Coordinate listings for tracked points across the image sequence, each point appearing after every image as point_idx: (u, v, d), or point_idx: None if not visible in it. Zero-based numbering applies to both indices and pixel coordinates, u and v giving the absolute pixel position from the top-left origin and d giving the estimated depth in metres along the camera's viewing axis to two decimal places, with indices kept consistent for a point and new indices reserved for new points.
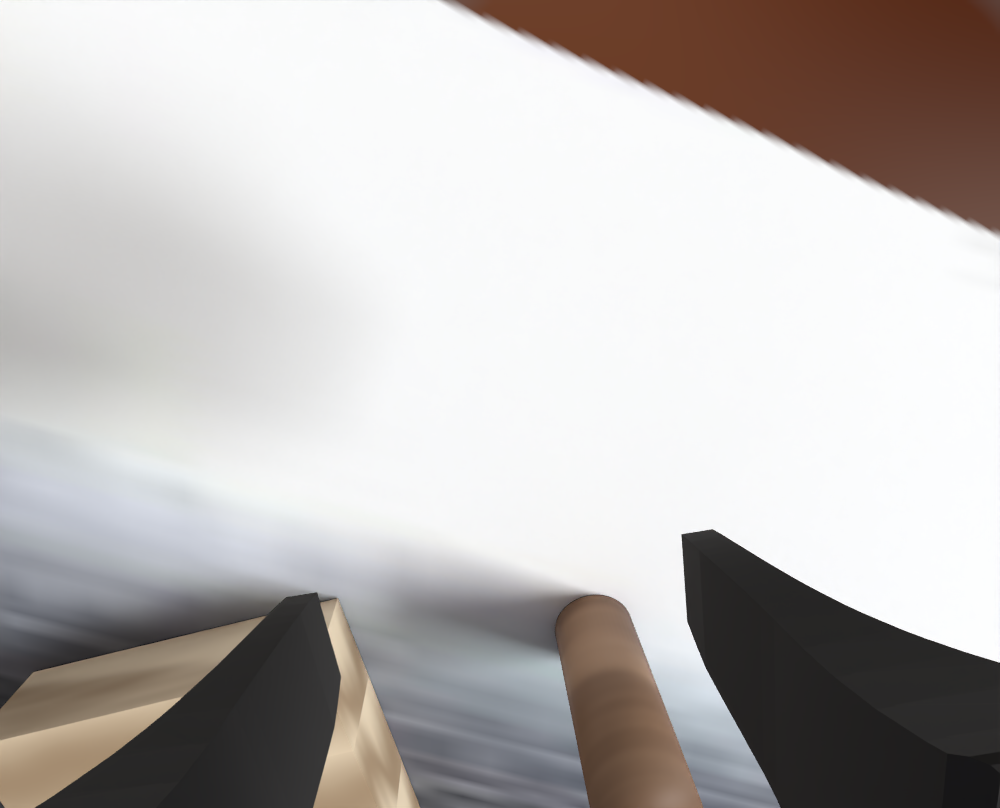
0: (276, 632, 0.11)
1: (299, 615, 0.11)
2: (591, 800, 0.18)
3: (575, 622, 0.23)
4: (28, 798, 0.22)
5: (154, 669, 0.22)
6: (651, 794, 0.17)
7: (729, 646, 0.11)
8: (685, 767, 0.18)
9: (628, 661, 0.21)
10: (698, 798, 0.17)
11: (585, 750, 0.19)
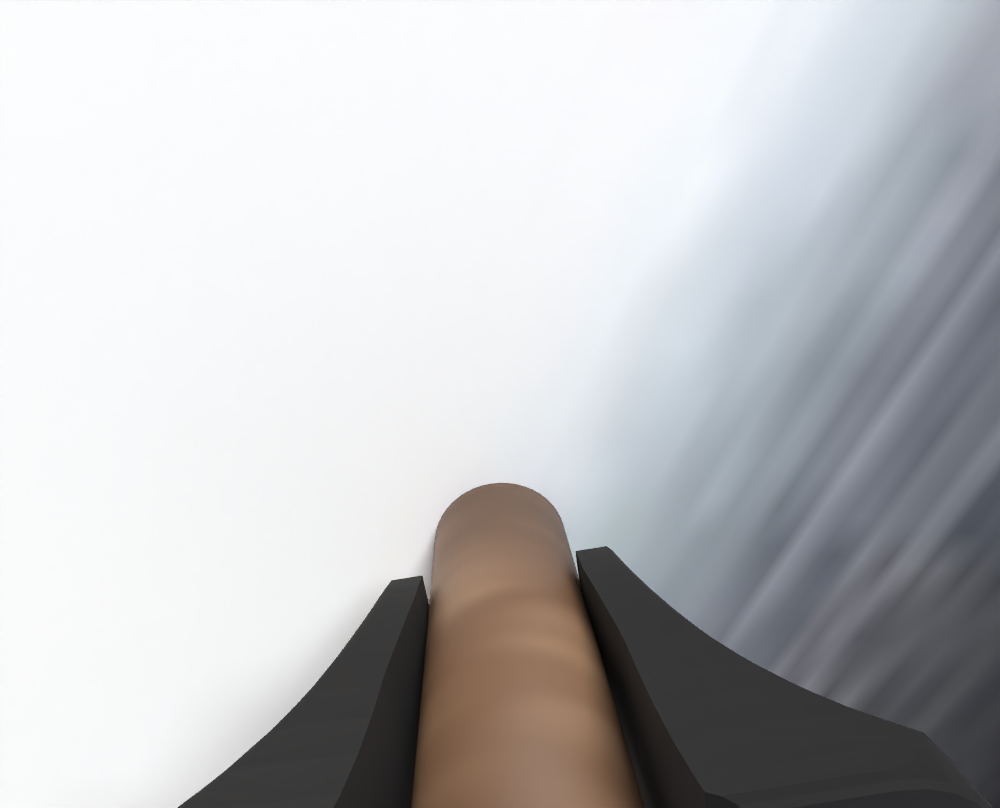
0: (397, 613, 0.11)
1: (414, 597, 0.11)
2: None
3: None
4: None
5: None
6: None
7: (607, 665, 0.11)
8: (462, 770, 0.07)
9: (431, 624, 0.11)
10: None
11: None
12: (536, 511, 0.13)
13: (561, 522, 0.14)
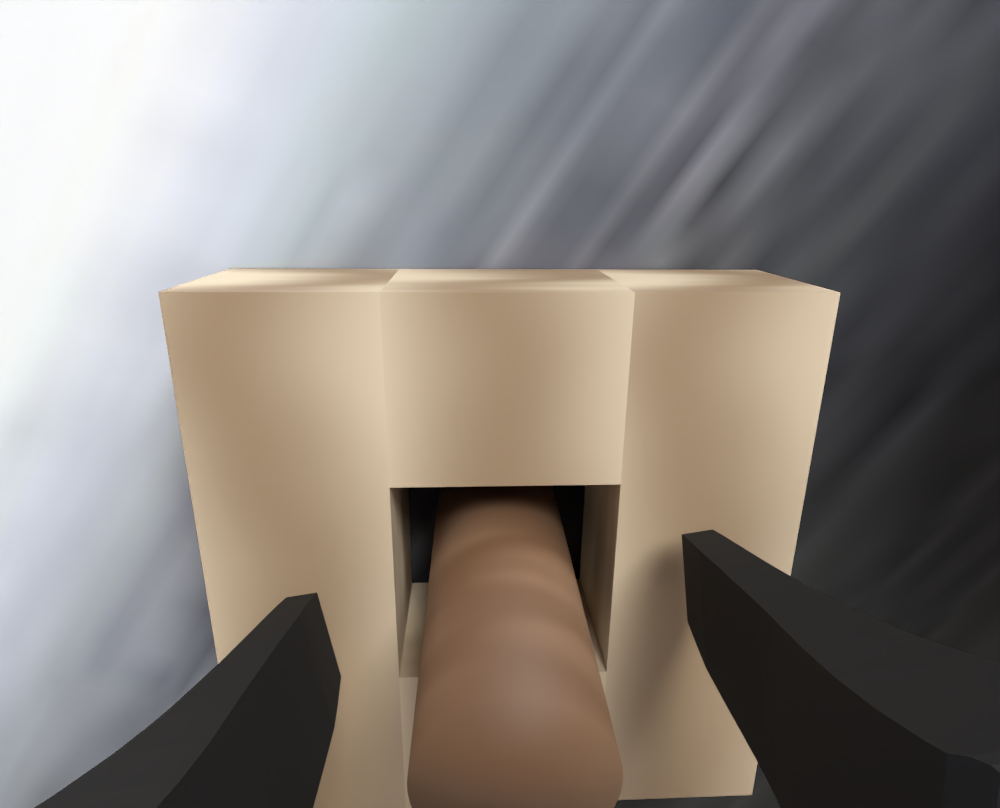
0: (276, 632, 0.11)
1: (299, 615, 0.11)
2: None
3: None
4: (350, 779, 0.15)
5: None
6: (447, 783, 0.09)
7: (728, 646, 0.11)
8: (453, 673, 0.09)
9: (431, 569, 0.13)
10: (468, 711, 0.08)
11: None
12: None
13: None
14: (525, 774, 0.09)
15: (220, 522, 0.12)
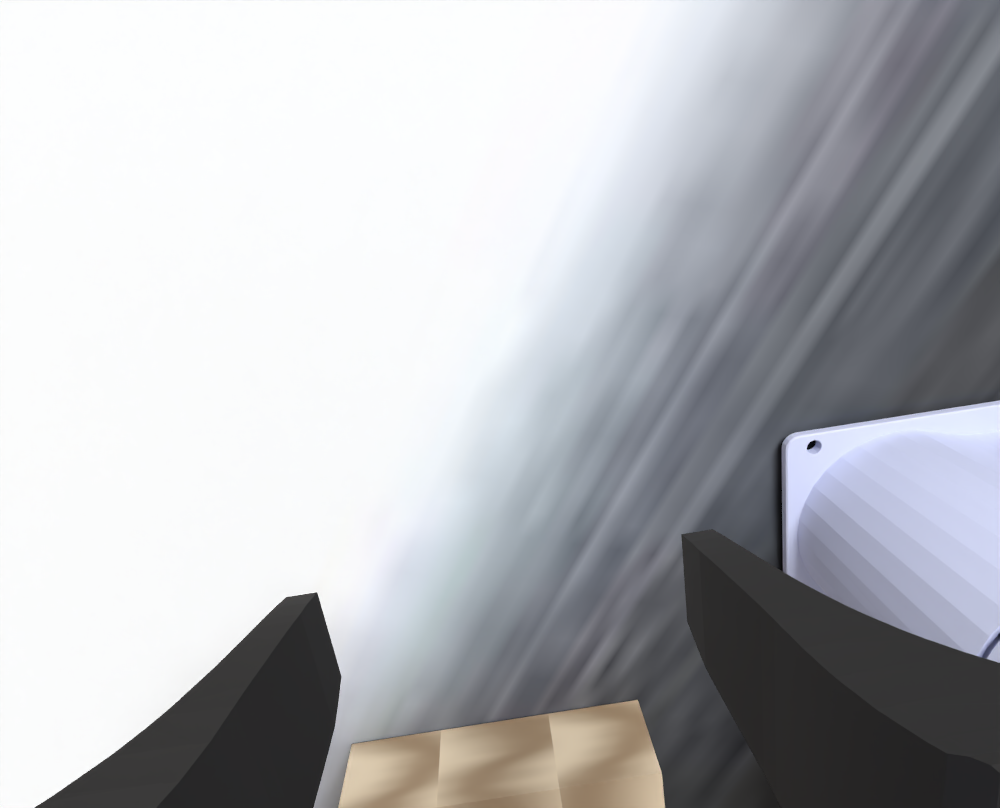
0: (276, 632, 0.11)
1: (299, 615, 0.11)
2: None
3: None
4: None
5: None
6: None
7: (728, 646, 0.11)
8: None
9: None
10: None
11: None
12: None
13: None
14: None
15: None
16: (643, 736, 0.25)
